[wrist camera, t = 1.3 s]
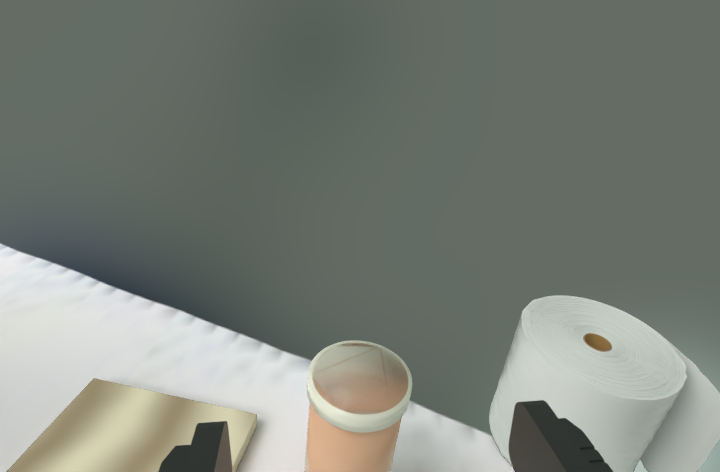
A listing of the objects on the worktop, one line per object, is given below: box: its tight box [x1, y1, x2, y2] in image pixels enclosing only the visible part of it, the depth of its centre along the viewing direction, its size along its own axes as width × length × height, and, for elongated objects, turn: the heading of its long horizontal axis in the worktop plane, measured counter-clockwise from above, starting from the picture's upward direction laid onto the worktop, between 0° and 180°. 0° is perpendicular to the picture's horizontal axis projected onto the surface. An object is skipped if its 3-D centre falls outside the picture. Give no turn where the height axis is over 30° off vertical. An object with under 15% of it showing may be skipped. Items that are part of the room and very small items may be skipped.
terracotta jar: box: [304, 341, 412, 472], centre depth 27 cm, size 5×5×12 cm
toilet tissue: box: [489, 295, 720, 472], centre depth 35 cm, size 11×12×10 cm
